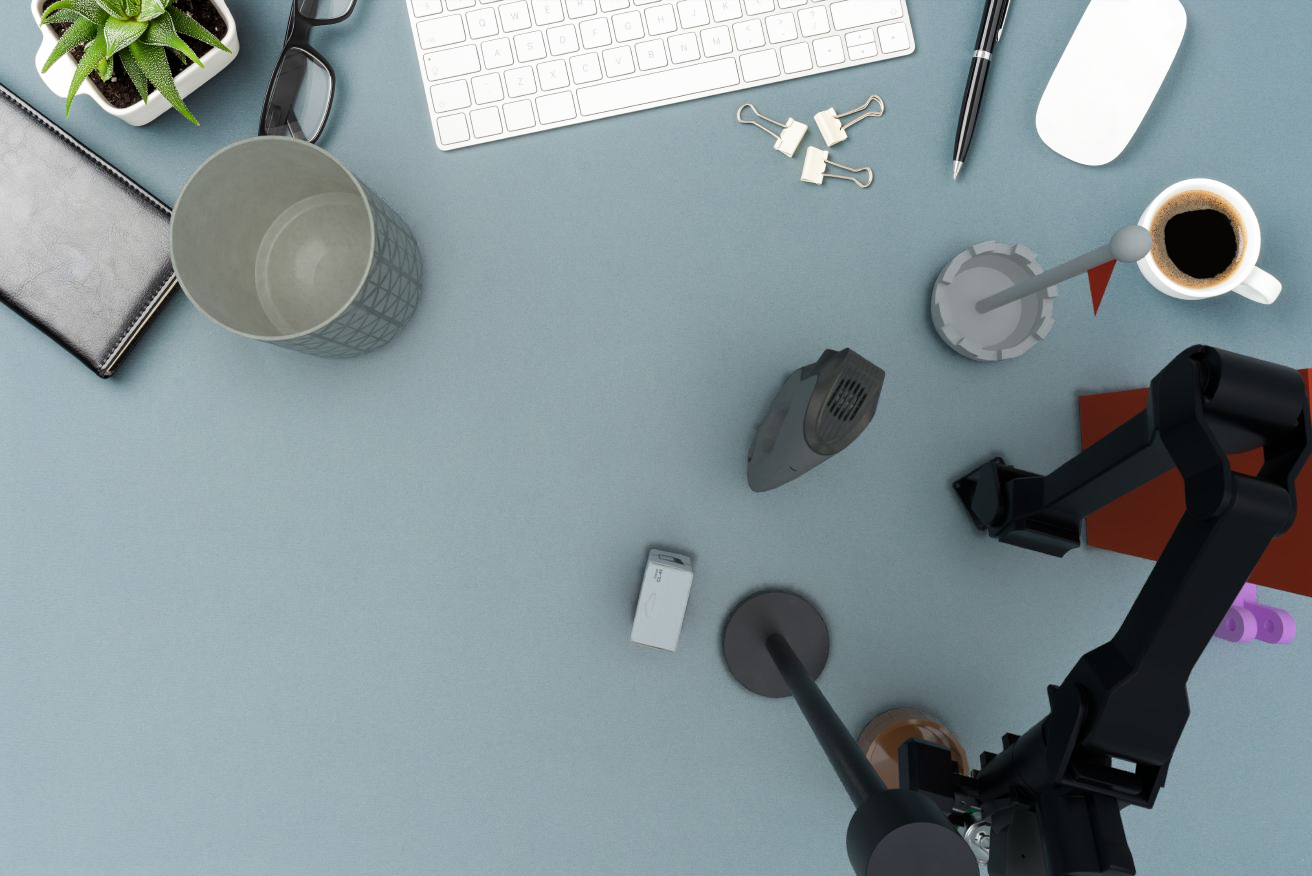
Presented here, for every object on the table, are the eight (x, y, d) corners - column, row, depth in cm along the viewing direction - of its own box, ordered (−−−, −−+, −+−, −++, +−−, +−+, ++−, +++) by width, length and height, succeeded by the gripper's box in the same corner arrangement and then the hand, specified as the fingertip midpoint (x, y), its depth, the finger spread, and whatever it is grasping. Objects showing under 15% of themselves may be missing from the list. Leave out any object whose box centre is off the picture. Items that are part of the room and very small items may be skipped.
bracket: (1245, 632, 89) (1295, 648, 82) (1197, 630, 89) (1243, 646, 82) (1249, 519, 89) (1299, 526, 82) (1201, 517, 89) (1247, 523, 82)
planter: (258, 207, 89) (157, 146, 71) (421, 189, 89) (363, 124, 71) (275, 370, 89) (178, 350, 71) (439, 352, 89) (384, 328, 71)
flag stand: (929, 245, 89) (1068, 143, 59) (1041, 260, 89) (1236, 167, 59) (914, 356, 89) (1046, 310, 59) (1026, 371, 89) (1214, 334, 59)
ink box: (674, 629, 89) (677, 657, 77) (631, 619, 89) (628, 646, 77) (691, 555, 89) (697, 572, 77) (648, 545, 89) (648, 560, 77)
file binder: (1083, 545, 89) (1324, 600, 57) (1075, 396, 89) (1309, 368, 57) (1153, 541, 89) (1432, 594, 57) (1144, 392, 89) (1417, 362, 57)
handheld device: (839, 392, 89) (911, 370, 64) (768, 503, 89) (813, 524, 64) (795, 364, 89) (849, 331, 64) (724, 474, 89) (752, 485, 64)
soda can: (939, 751, 83) (988, 804, 71) (972, 785, 83) (1026, 843, 71) (905, 784, 83) (948, 842, 71) (938, 818, 83) (987, 882, 71)
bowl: (834, 739, 89) (843, 754, 85) (921, 687, 89) (934, 699, 85) (886, 826, 89) (897, 845, 84) (972, 774, 89) (988, 791, 85)
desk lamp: (703, 623, 89) (763, 839, 40) (792, 570, 89) (962, 720, 40) (756, 713, 89) (883, 1041, 40) (845, 659, 89) (1082, 921, 40)
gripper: (946, 838, 59) (869, 892, 70) (1180, 901, 59) (1067, 946, 70) (935, 704, 67) (868, 771, 78) (1142, 760, 67) (1045, 819, 78)
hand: (959, 827), depth 76 cm, fingers closed on soda can, 5 cm apart
